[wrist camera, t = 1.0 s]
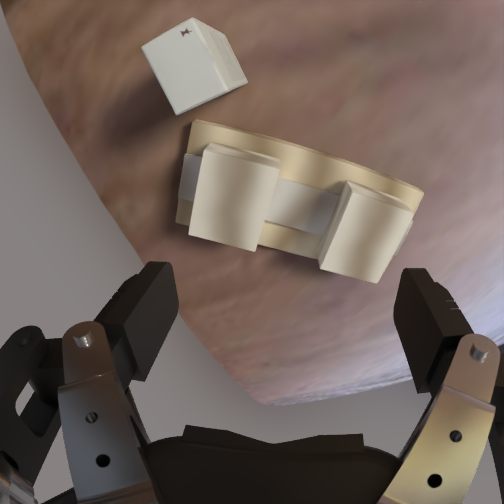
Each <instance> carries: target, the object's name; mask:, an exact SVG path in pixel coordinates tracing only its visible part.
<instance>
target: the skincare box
mask: <svg viewBox="0 0 504 504" xmlns="http://www.w3.org/2000/svg"><path fill="white" fill-rule="evenodd" d="M142 50H143V52H144V54H145V56H146V58H147V60H148V62H149V64H150V66H151V68H152V70H153V72H154V74H155V76H156V78H157V80H158V82H159V83H160V85H161V87H162V89H163V91H164V93H165V95H166V97H167V99H168V101H169V102H170V104H171V106H172V108H173V110H174V112H175V114H176V115H179V114H182V113H184V112H186V111H188V110H190V109H192V108H194V107H197V106H199V105H201V104H203V103H205V102H208V101H210V100H212V99H214V98H216V97H219V96H221V95H223V94H225V93H227V92H229V91H231V90H233V89H236V88H238V87H241V86H243V85H245V84H247V80H246V77H245V75H244V73H243V71H242V69H241V67H240V65H239V63H238V61H237V59H236V57H235V54H234V52H233V50H232V48H231V46H230V44H229V42H228V40H227V38H226V36H225V35H224V34H223V33H221V32H219V31H217V30H215V29H214V28H212V27H210V26H208V25H206V24H204V23H202V22H201V21H199V20H197V19H195V18H190V19H188V20H186V21H184V22H182V23H181V24H179V25H177V26H175V27H173V28H172V29H170V30H168V31H166V32H165V33H163V34H161V35H160V36H158V37H156V38H155V39H153V40H151V41H150V42H148V43H147V44H145V45H143V46H142Z"/></svg>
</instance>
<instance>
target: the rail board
mask: <svg viewBox="0 0 504 504" xmlns="http://www.w3.org/2000/svg"><path fill="white" fill-rule="evenodd" d="M423 195H424V193H423V192H422V191H421V189H420V188H417V187H415V186H413V185H410V184H408V183H405V182H403V181H400V180H398V179H395V178H393V177H390V176H388V175H385V174H383V173H380V172H377V171H375V170H372V169H369V168H367V167H364V166H361V165H358V164H356V163H353V162H350V161H347V160H344V159H341V158H338V157H335V156H332V155H329V154H326V153H323V152H320V151H317V150H314V149H311V148H307V147H304V146H301V145H297V144H294V143H291V142H287V141H284V140H280V139H277V138H273V137H269V136H266V135H262V134H258V133H254V132H250V131H246V130H242V129H238V128H234V127H230V126H225V125H221V124H217V123H212V122H207V121H203V120H198V119H196V120H194V121H192V126H191V131H190V137H189V142H188V147H187V153H186V154H185V156H184V162H183V168H182V174H181V180H180V186H179V192H178V198H179V200H178V207H177V214H176V221H175V223H179V224H183V225H186V226H190V228H189V234H188V235H192V236H196V237H200V238H204V239H208V240H212V241H215V242H219V243H223V244H227V245H231V246H235V247H238V248H242V249H246V250H250V251H254V252H255V251H256V247H257V244H260V245H263V246H267V247H271V248H275V249H279V250H282V251H286V252H290V253H294V254H298V255H301V256H305V257H309V258H313V259H316V260H319V266H320V269H323V270H327V271H330V272H334V273H338V274H342V275H346V276H350V277H353V278H357V279H361V280H365V281H369V282H373V283H376V284H377V283H378V281H379V280H380V278H381V277H382V275H383V273H384V271H385V269H386V268H387V266H388V264H389V262H390V260H391V259H392V257H395V256H396V255H397V253H398V251H399V249H400V247H401V245H402V243H403V242H404V240H405V238H406V236H407V234H408V232H409V230H410V228H411V226H412V224H413V221H412V218H413V216H414V214H415V212H416V210H417V208H418V206H419V204H420V201H421V199H422V197H423Z"/></svg>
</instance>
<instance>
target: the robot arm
mask: <svg viewBox="0 0 504 504" xmlns="http://www.w3.org/2000/svg"><path fill="white" fill-rule="evenodd" d="M178 307H179V301H178V295H177V290H176V284H175V279H174V273H173V268H172V265H171V263H170V262H154V261H150V262H148V263H147V264H146V265H145V267H144V268H143V269H142V270H141V272H140V273H139V274H135V275H134V276H132V277H131V278H129V279H128V280H126V281H125V282H124V283H123V284H122V285H121V287H120V288H119V289H118V292H116V293H115V294H114V295H113V296H112V299H110V300H109V302H108V303H107V304H106V305H105V307H104V308H103V309H102V310H101V312H100V313H99V314H98V315H97V317H96V318H95V319H94V321H86V322H81V323H78V324H76V325H74V326H72V327H71V328H70V329H68V330H67V331H66V333H65V334H64V336H63V338H54V339H45V337H44V335H43V333H42V330H41V329H40V328H39V327H37V326H26V327H23V328H21V329H19V330H17V331H16V332H14V333H13V334H12V335H11V336H10V338H9V339H8V340H7V341H6V342H5V344H4V345H3V346H2V348H1V349H0V504H38V501H37V500H36V499H35V498H34V489H33V486H34V483H35V481H36V479H37V476H38V474H39V472H40V469H41V467H42V465H43V463H44V461H45V458H46V456H47V454H48V452H49V450H50V447H51V445H52V443H53V441H54V439H55V437H56V435H57V433H58V431H59V429H60V427H61V425H62V431H63V438H64V443H65V448H66V454H67V459H68V464H69V469H70V473H71V477H72V481H73V485H74V487H73V488H71V489H69V490H67V491H65V492H64V493H61V494H60V495H57V496H55V497H54V498H52V499H50V500H48V501H46V502H44V503H41V504H462V502H463V500H464V498H465V495H466V493H467V491H468V489H469V486H470V484H471V482H472V479H473V477H474V474H475V472H476V469H477V466H478V464H479V461H480V459H481V456H482V453H483V450H484V447H485V444H486V441H487V438H488V439H489V443H490V446H491V450H492V454H493V458H494V463H495V467H496V472H497V476H498V481H499V487H500V493H501V498H502V504H504V354H500V351H499V348H498V347H497V345H496V344H495V343H494V342H493V341H492V340H491V339H489V338H488V337H486V336H483V335H480V334H474V332H473V330H472V329H471V327H470V325H469V323H468V322H467V320H466V318H465V317H464V315H463V314H462V312H461V310H459V307H458V305H457V304H456V302H454V299H453V298H452V296H451V294H450V293H449V291H448V290H447V289H445V288H444V287H443V286H442V285H440V284H439V283H438V282H434V281H433V279H432V278H431V276H430V275H429V273H428V272H427V270H426V269H425V268H405V269H404V270H403V272H402V275H401V279H400V284H399V288H398V292H397V296H396V301H395V305H394V313H393V315H394V323H395V326H396V329H397V331H398V334H399V337H400V340H401V343H402V346H403V349H404V352H405V355H406V358H407V361H408V364H409V367H410V370H411V374H412V377H413V380H414V383H415V387H416V390H417V393H418V394H419V393H426V392H430V393H431V396H432V398H431V399H430V401H429V403H428V405H427V407H426V409H425V411H424V413H423V414H422V416H421V418H420V420H419V422H418V424H417V426H416V427H415V429H414V431H413V433H412V434H411V437H410V438H409V440H408V441H407V443H406V445H405V446H404V448H403V450H402V451H401V452H400V454H399V456H398V457H396V456H394V455H392V454H390V453H388V452H385V451H383V450H380V449H377V448H373V447H369V446H364V442H363V434H347V435H318V436H314V437H309V438H304V439H300V440H294V441H288V442H283V443H276V444H271V443H266V442H263V441H259V440H256V439H253V438H250V437H246V436H243V435H240V434H237V433H234V432H231V431H228V430H220V429H219V430H218V429H212V428H204V427H197V426H191V425H186V426H185V429H184V432H183V435H182V436H176V437H170V438H165V439H161V440H157V441H155V442H152V443H151V441H150V439H149V437H148V435H147V433H146V430H145V428H144V425H143V423H142V420H141V418H140V415H139V412H138V410H137V407H136V404H135V402H134V399H133V396H132V393H131V391H130V388H129V384H130V382H131V380H137V381H144V382H145V380H146V378H147V375H148V374H149V371H150V369H151V367H152V365H153V363H154V361H155V359H156V357H157V355H158V353H159V351H160V348H161V347H162V344H163V343H164V340H165V338H166V336H167V334H168V332H169V330H170V328H171V326H172V324H173V322H174V320H175V318H176V316H177V313H178ZM27 382H29V384H30V385H31V387H32V388H33V390H34V393H33V395H32V396H31V398H30V400H29V401H28V403H27V405H26V406H25V408H24V410H23V411H22V413H21V415H20V417H19V416H18V414H17V412H16V408H15V404H16V400H17V398H18V396H19V395H20V393H21V392H22V390H23V389H24V387H25V385H26V384H27Z"/></svg>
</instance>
